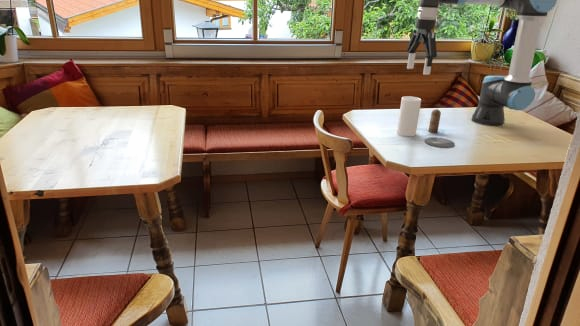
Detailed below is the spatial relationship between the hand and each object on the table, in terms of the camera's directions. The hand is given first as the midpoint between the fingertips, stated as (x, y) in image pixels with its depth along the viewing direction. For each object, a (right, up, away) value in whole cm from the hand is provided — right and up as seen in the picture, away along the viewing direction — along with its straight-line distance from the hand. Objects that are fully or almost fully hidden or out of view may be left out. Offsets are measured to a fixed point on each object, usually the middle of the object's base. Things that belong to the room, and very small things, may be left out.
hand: (417, 71), depth 181 cm
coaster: (+9, -30, -1) cm, 32 cm away
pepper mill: (+11, -24, +14) cm, 31 cm away
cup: (-2, -26, +10) cm, 28 cm away
